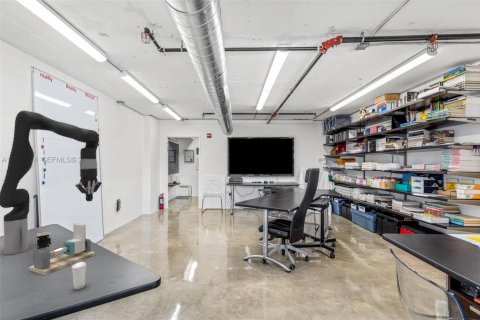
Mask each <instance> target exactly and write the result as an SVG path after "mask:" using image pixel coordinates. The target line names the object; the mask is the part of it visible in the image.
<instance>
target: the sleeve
mask: <svg viewBox="0 0 480 320" xmlns="http://www.w3.org/2000/svg"><path fill="white" fill-rule="evenodd" d="M72 224H73V225H72V233H73V237H72V239H68V240H67V241H70V242H74V254H76V253H79V252H82V251H84V250H85V239H87V237H86V235H87V232H86V231H87V230H86V229H87V228H86V224H85V223H84V224H83V223H72ZM68 246H69V245H68Z"/></svg>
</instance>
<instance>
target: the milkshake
mask: <svg viewBox="0 0 480 320" xmlns="http://www.w3.org/2000/svg"><path fill="white" fill-rule="evenodd" d="M70 263H71V261H70ZM70 266H71V272H72V273H71V274H72V281H73V289H74V290H81V289H83V288H85V284H86V273H87V271H86V270H87V263H86V262H84V261H80V262H77V263H75V264H72V263H71V265H70Z"/></svg>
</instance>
